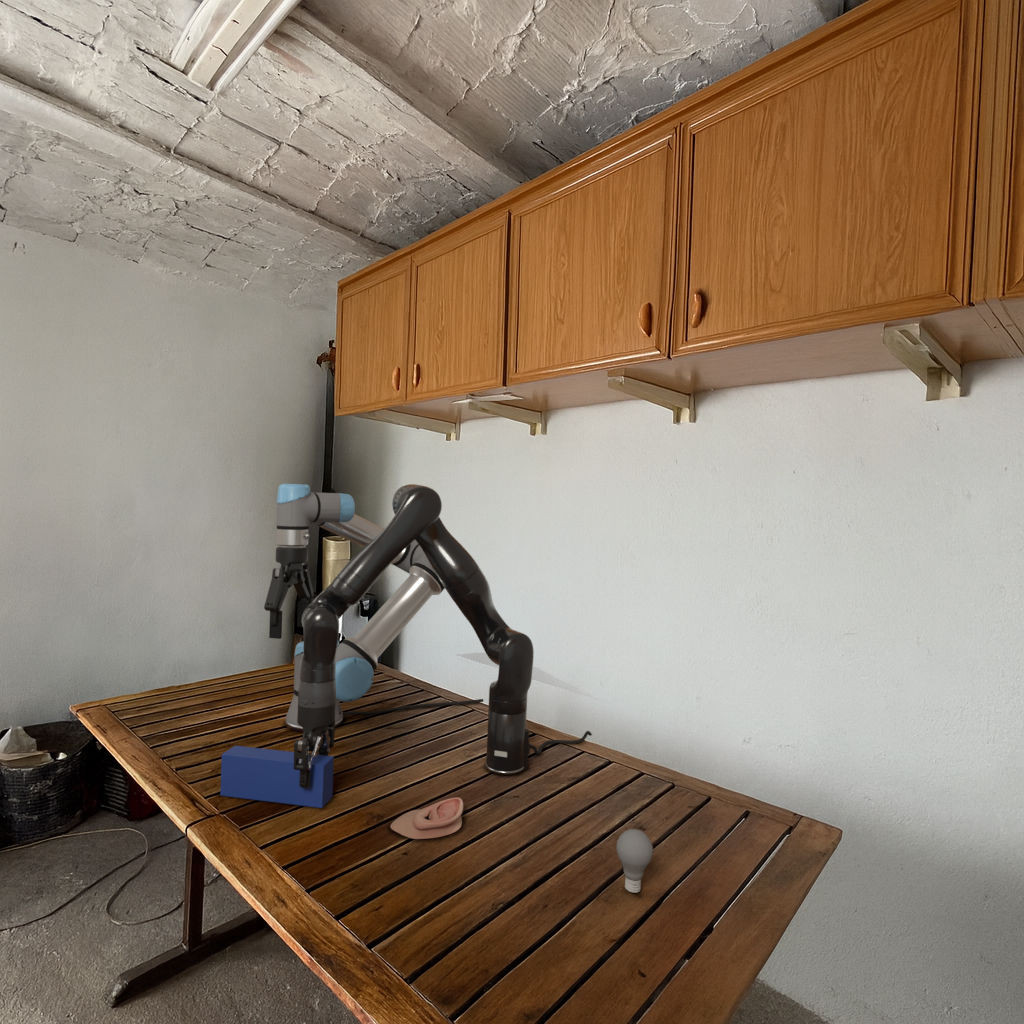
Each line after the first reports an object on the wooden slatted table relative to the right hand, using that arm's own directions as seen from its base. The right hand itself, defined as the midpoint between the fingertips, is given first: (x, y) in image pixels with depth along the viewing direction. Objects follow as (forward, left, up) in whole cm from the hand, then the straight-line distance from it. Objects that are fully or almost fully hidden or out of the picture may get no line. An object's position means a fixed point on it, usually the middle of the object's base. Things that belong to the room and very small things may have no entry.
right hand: (313, 779), depth 132 cm
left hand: (+2, -29, +25) cm, 38 cm away
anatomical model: (-19, +18, -5) cm, 27 cm away
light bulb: (-43, +52, -5) cm, 67 cm away
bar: (+7, -5, -5) cm, 9 cm away
